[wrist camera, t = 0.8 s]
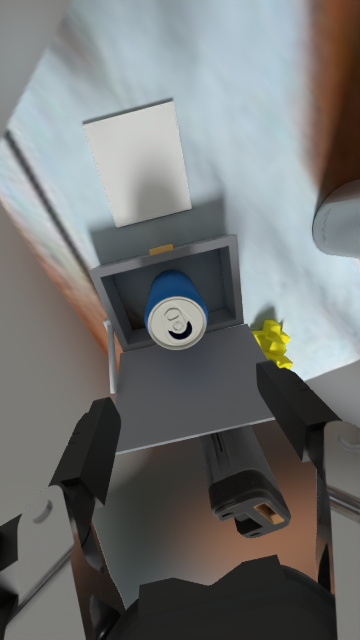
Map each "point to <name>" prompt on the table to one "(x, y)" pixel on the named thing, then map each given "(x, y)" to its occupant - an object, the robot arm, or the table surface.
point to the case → (182, 361)
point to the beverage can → (175, 311)
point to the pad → (140, 163)
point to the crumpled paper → (273, 343)
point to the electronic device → (242, 482)
